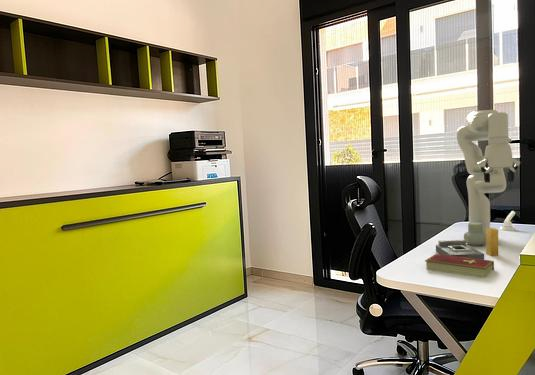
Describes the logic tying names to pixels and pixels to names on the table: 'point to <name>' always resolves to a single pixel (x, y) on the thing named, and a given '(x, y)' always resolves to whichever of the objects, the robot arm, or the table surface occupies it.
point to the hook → (508, 223)
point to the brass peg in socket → (492, 241)
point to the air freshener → (475, 234)
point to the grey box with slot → (458, 249)
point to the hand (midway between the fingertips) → (498, 181)
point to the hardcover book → (460, 265)
